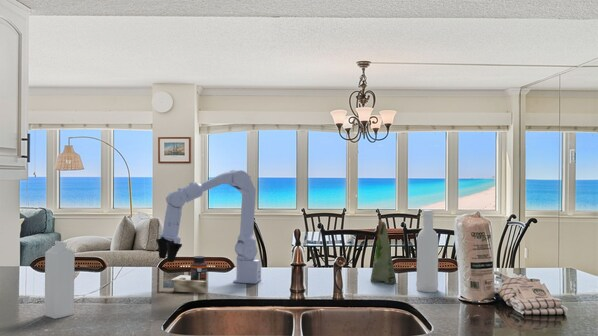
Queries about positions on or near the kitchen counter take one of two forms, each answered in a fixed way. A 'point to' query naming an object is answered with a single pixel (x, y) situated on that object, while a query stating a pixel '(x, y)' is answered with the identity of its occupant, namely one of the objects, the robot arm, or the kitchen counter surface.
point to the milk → (59, 281)
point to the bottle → (427, 255)
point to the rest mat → (182, 277)
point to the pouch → (383, 258)
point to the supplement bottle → (199, 269)
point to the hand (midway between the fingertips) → (166, 260)
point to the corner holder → (190, 285)
